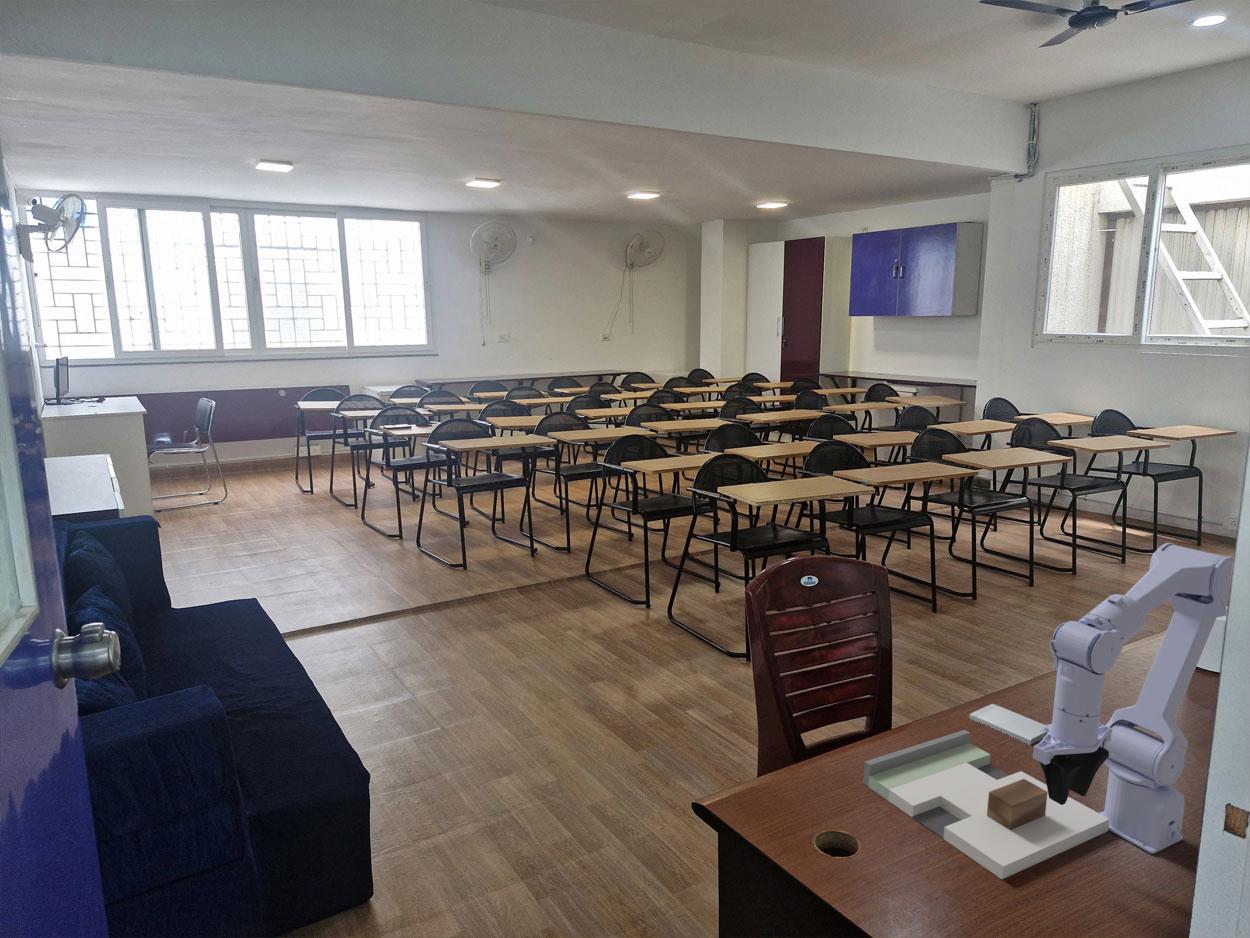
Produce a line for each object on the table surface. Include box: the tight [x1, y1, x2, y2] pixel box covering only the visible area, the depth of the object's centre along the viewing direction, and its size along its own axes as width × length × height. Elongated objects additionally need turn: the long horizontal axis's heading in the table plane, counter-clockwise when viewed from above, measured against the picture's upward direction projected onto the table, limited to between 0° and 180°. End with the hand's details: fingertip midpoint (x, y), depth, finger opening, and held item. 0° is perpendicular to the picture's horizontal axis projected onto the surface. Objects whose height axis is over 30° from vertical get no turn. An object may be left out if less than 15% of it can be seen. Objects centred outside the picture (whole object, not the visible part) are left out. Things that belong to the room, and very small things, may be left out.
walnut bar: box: [987, 779, 1047, 830], centre depth 121 cm, size 4×8×4 cm, turn 117°
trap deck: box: [862, 729, 1110, 880], centre depth 127 cm, size 27×24×4 cm
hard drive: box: [968, 703, 1048, 746], centre depth 154 cm, size 2×8×12 cm
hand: (1067, 796), depth 114 cm, fingers open, 4 cm apart
